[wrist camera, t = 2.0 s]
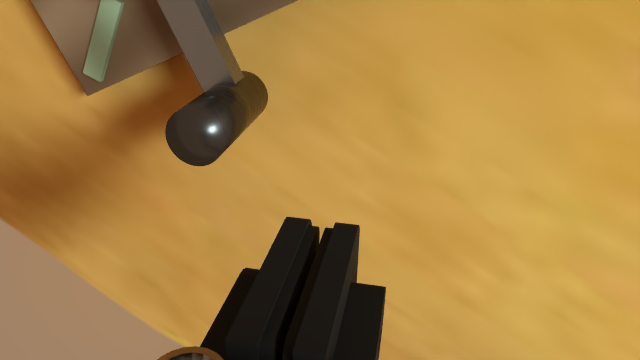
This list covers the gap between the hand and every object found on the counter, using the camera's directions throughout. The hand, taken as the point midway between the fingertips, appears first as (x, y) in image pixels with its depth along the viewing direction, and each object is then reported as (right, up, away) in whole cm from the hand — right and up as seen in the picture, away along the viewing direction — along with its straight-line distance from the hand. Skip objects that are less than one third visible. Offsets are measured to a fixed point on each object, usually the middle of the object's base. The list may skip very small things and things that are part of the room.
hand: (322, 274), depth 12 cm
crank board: (-7, +16, +13) cm, 22 cm away
